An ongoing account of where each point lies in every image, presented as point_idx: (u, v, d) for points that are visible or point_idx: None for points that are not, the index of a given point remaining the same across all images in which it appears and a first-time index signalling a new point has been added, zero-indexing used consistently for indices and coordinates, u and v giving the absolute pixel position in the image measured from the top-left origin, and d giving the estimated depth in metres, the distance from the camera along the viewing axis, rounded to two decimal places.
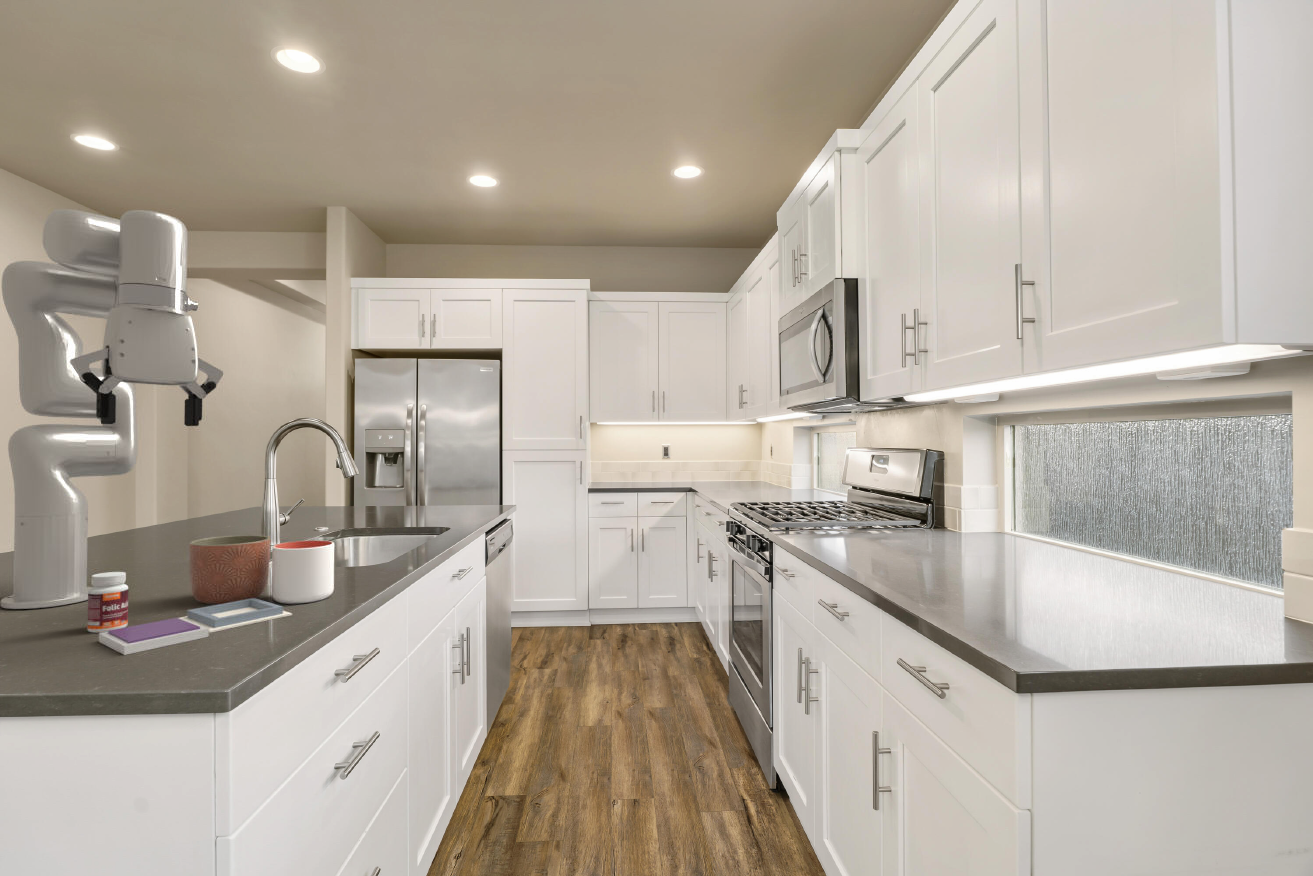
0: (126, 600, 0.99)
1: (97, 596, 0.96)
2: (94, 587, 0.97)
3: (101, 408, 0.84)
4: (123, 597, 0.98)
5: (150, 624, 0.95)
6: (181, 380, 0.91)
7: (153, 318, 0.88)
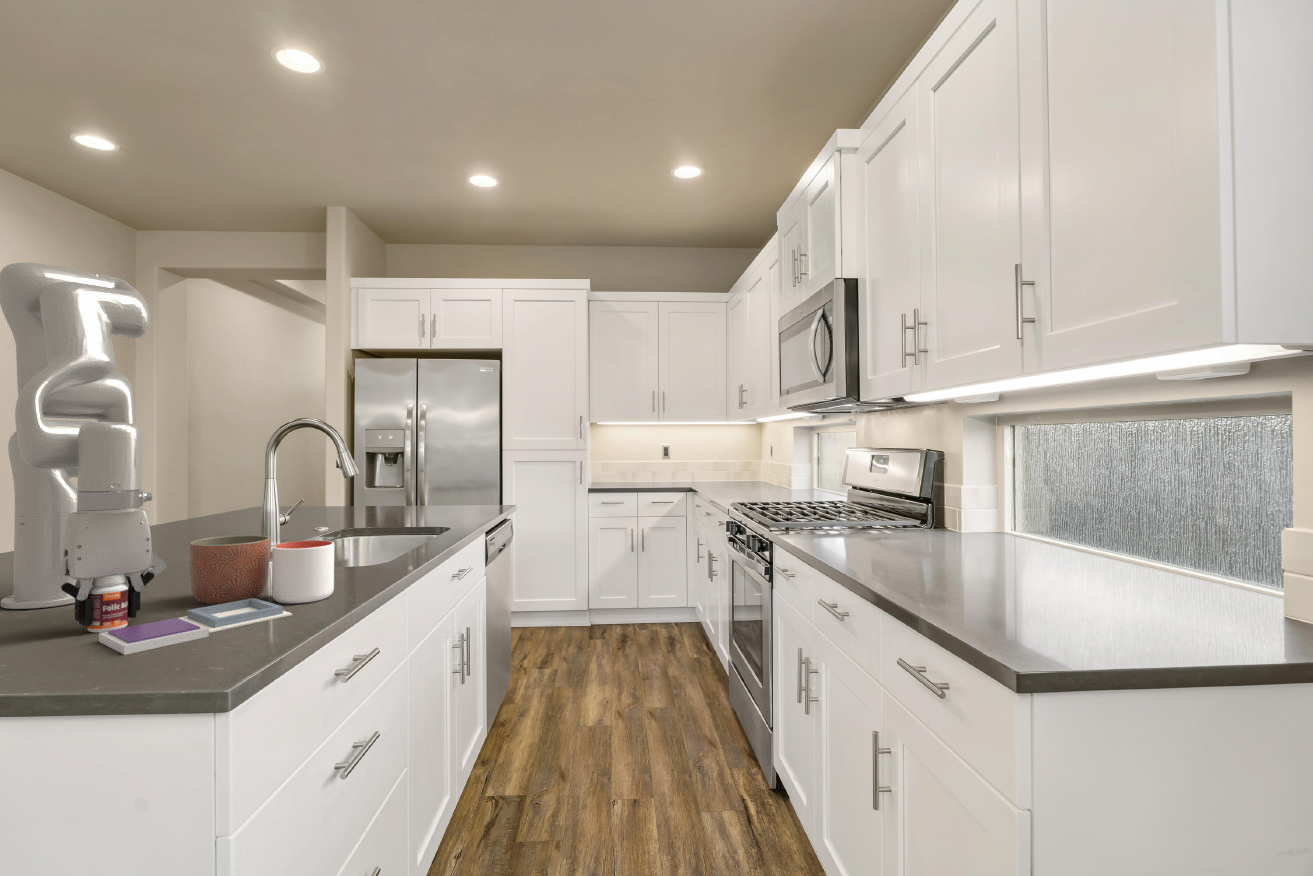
0: (126, 600, 0.99)
1: (97, 596, 0.96)
2: (94, 587, 0.97)
3: (79, 613, 0.95)
4: (123, 597, 0.98)
5: (150, 624, 0.95)
6: (135, 570, 0.99)
7: (109, 520, 0.96)
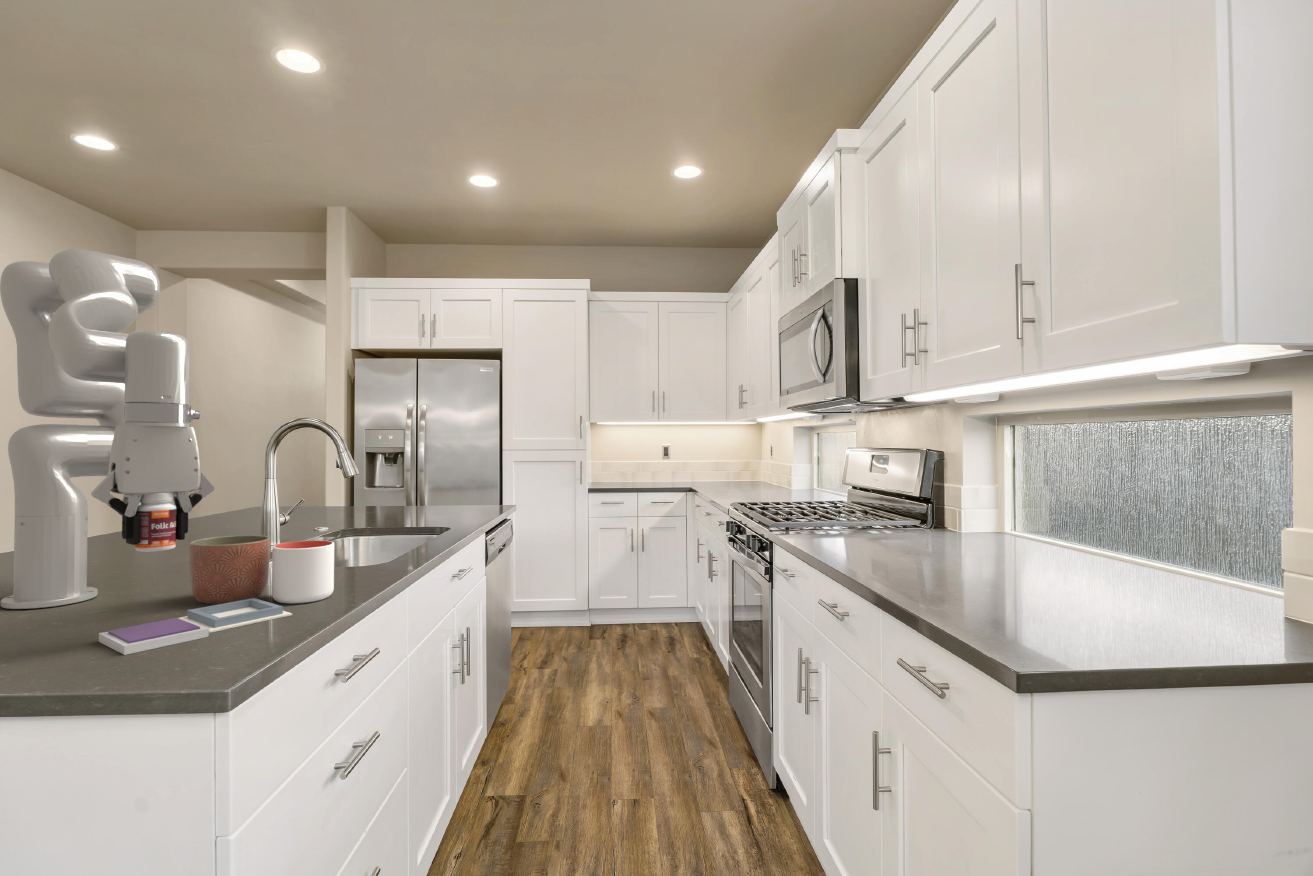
0: (174, 520, 0.94)
1: (145, 513, 0.91)
2: (142, 504, 0.92)
3: (127, 530, 0.90)
4: (171, 516, 0.93)
5: (150, 624, 0.95)
6: (184, 489, 0.94)
7: (158, 434, 0.91)
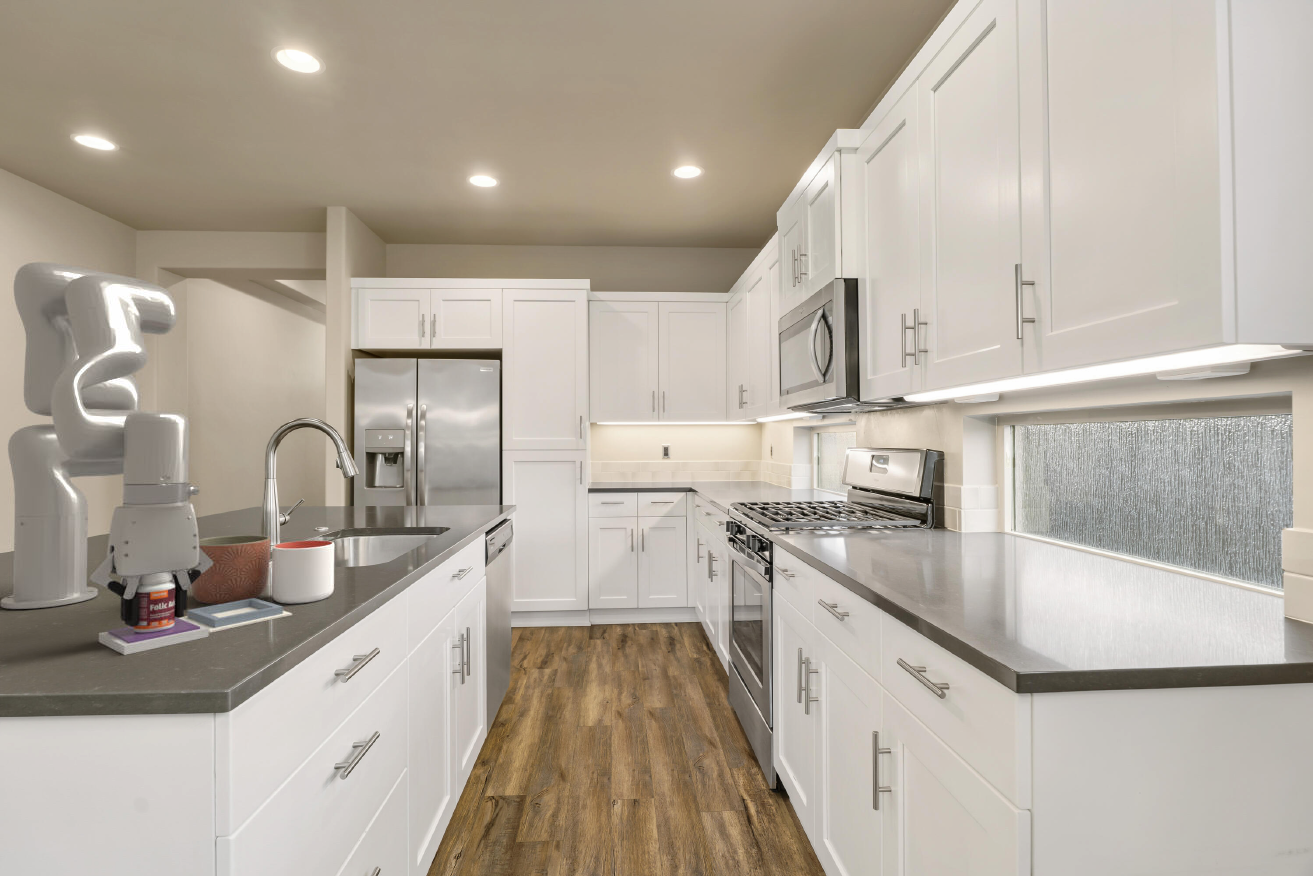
0: (173, 599, 0.94)
1: (144, 594, 0.91)
2: (141, 585, 0.92)
3: (125, 612, 0.90)
4: (170, 595, 0.93)
5: None
6: (182, 567, 0.94)
7: (156, 514, 0.91)
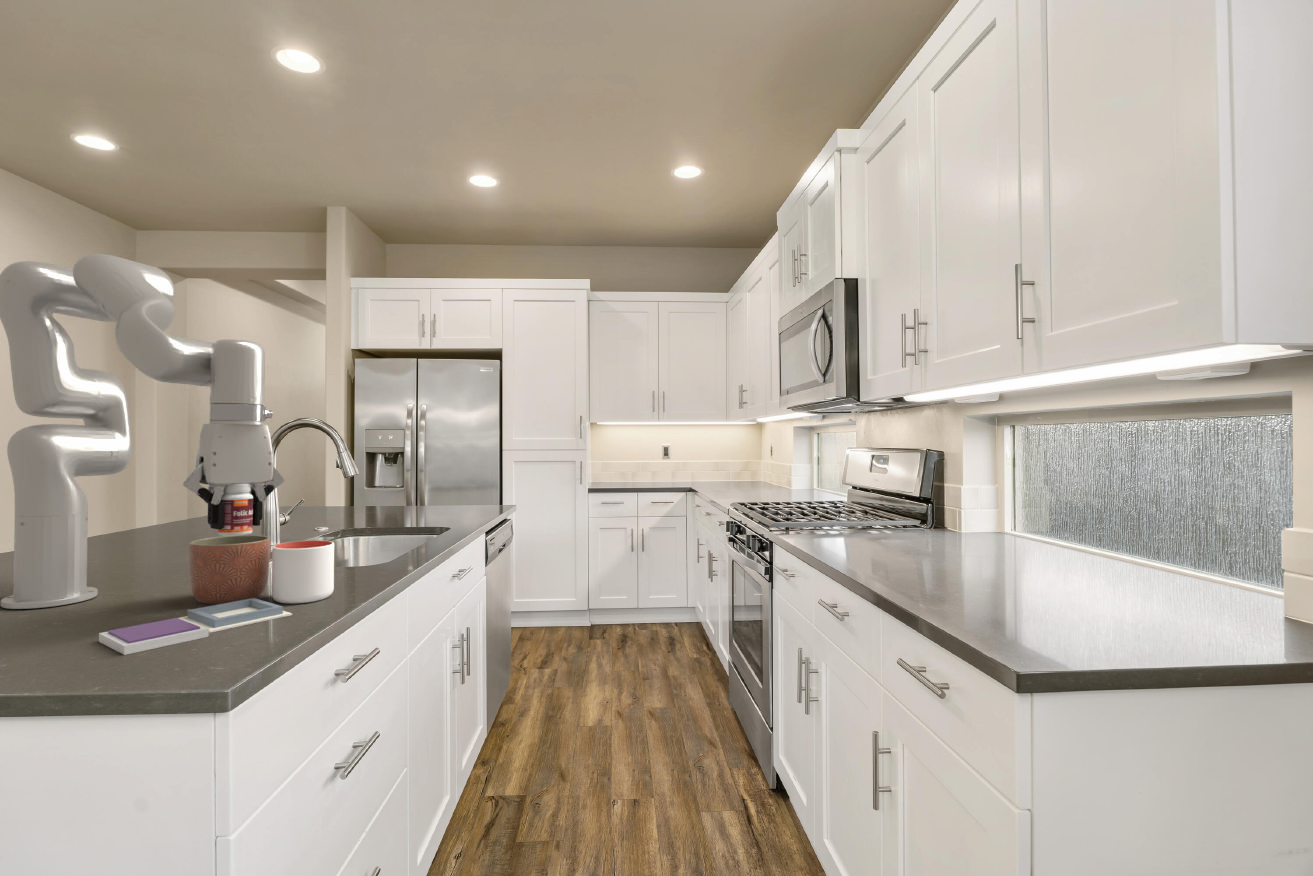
0: (252, 508, 1.05)
1: (228, 501, 1.02)
2: (225, 494, 1.03)
3: (212, 516, 1.01)
4: (250, 505, 1.05)
5: (150, 624, 0.95)
6: (260, 481, 1.06)
7: (239, 431, 1.03)
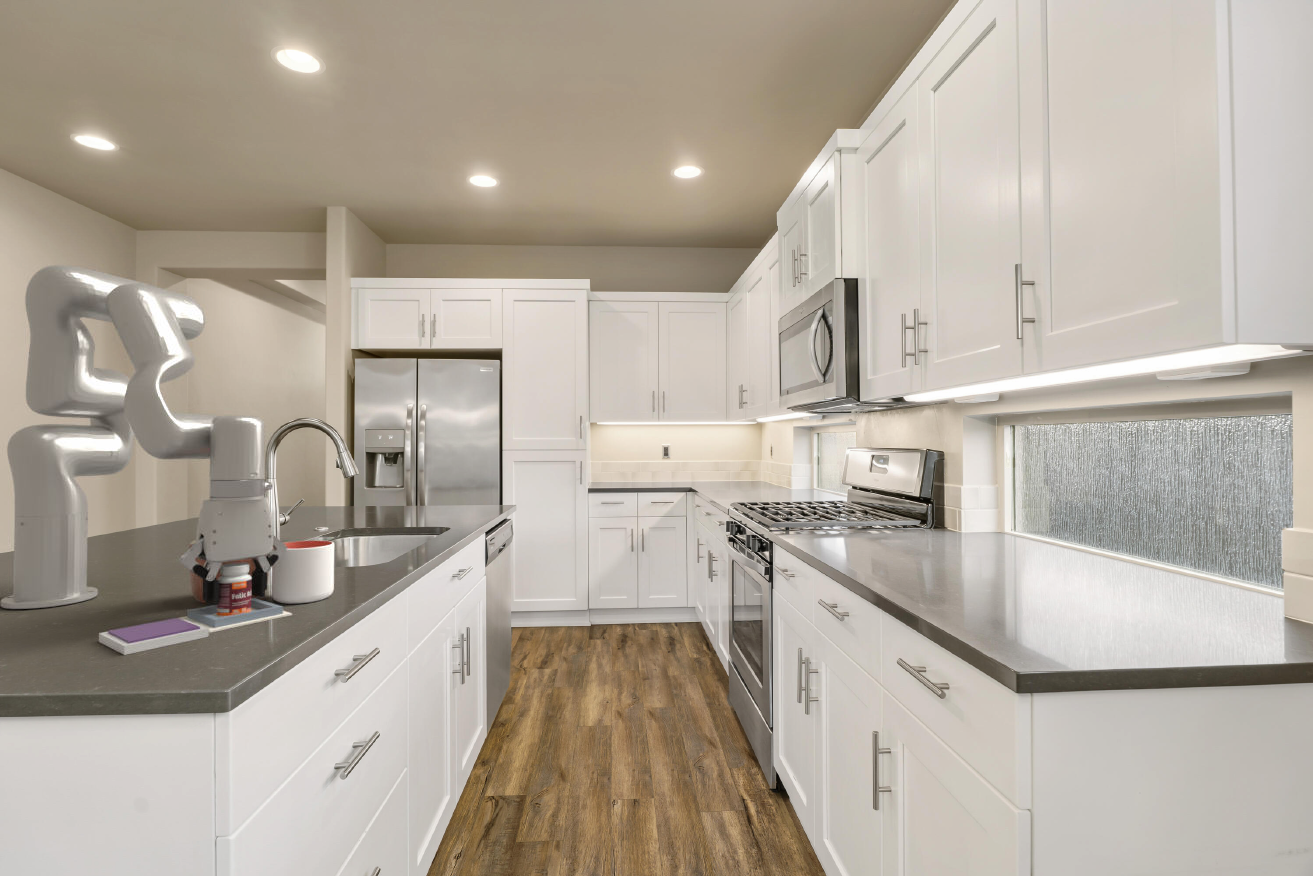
0: (250, 589, 1.05)
1: (227, 584, 1.02)
2: (223, 577, 1.03)
3: (207, 593, 1.01)
4: (248, 586, 1.05)
5: (150, 624, 0.95)
6: (259, 554, 1.06)
7: (239, 507, 1.03)
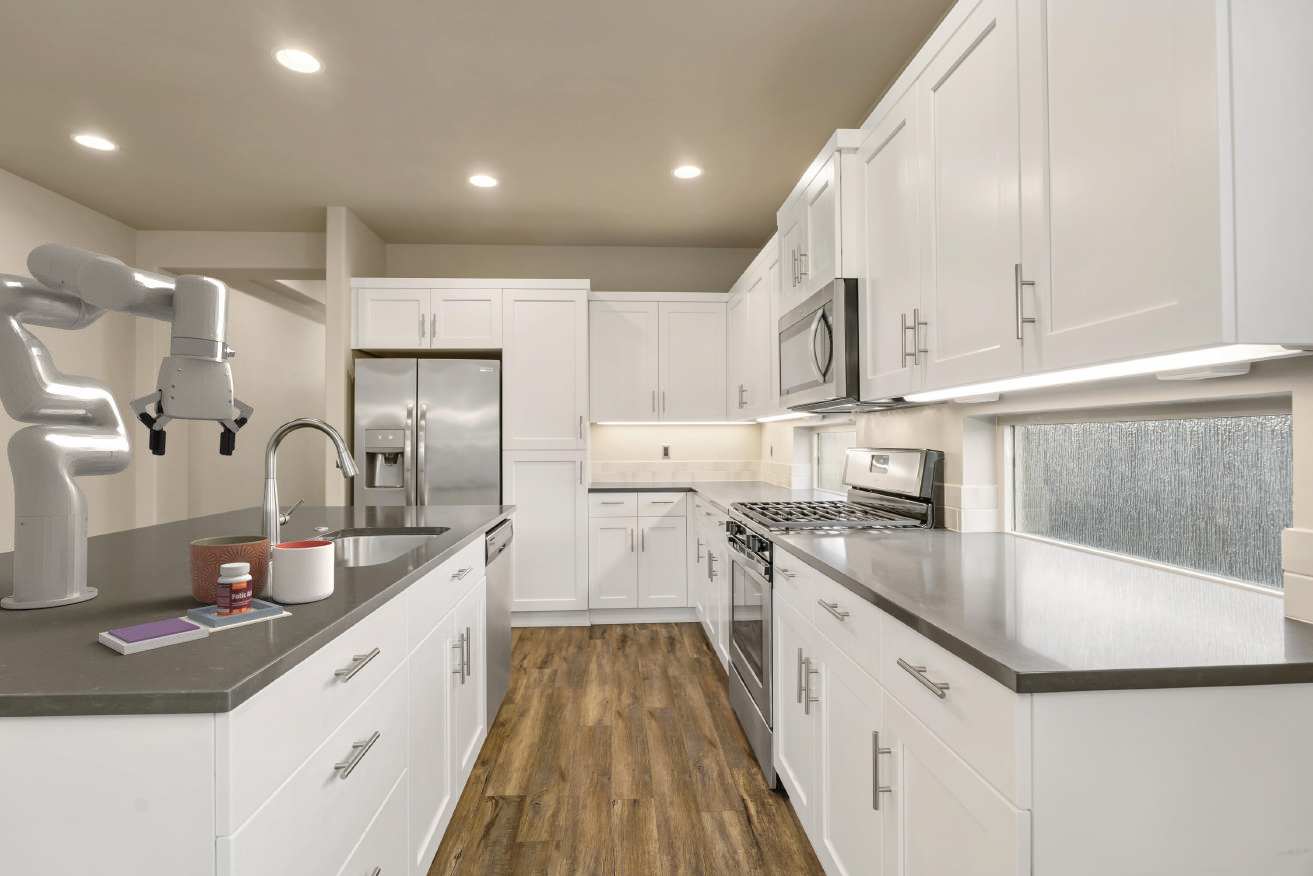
0: (250, 589, 1.05)
1: (227, 584, 1.02)
2: (223, 576, 1.03)
3: (153, 442, 1.01)
4: (248, 586, 1.05)
5: (150, 624, 0.95)
6: (219, 417, 1.07)
7: (199, 366, 1.04)
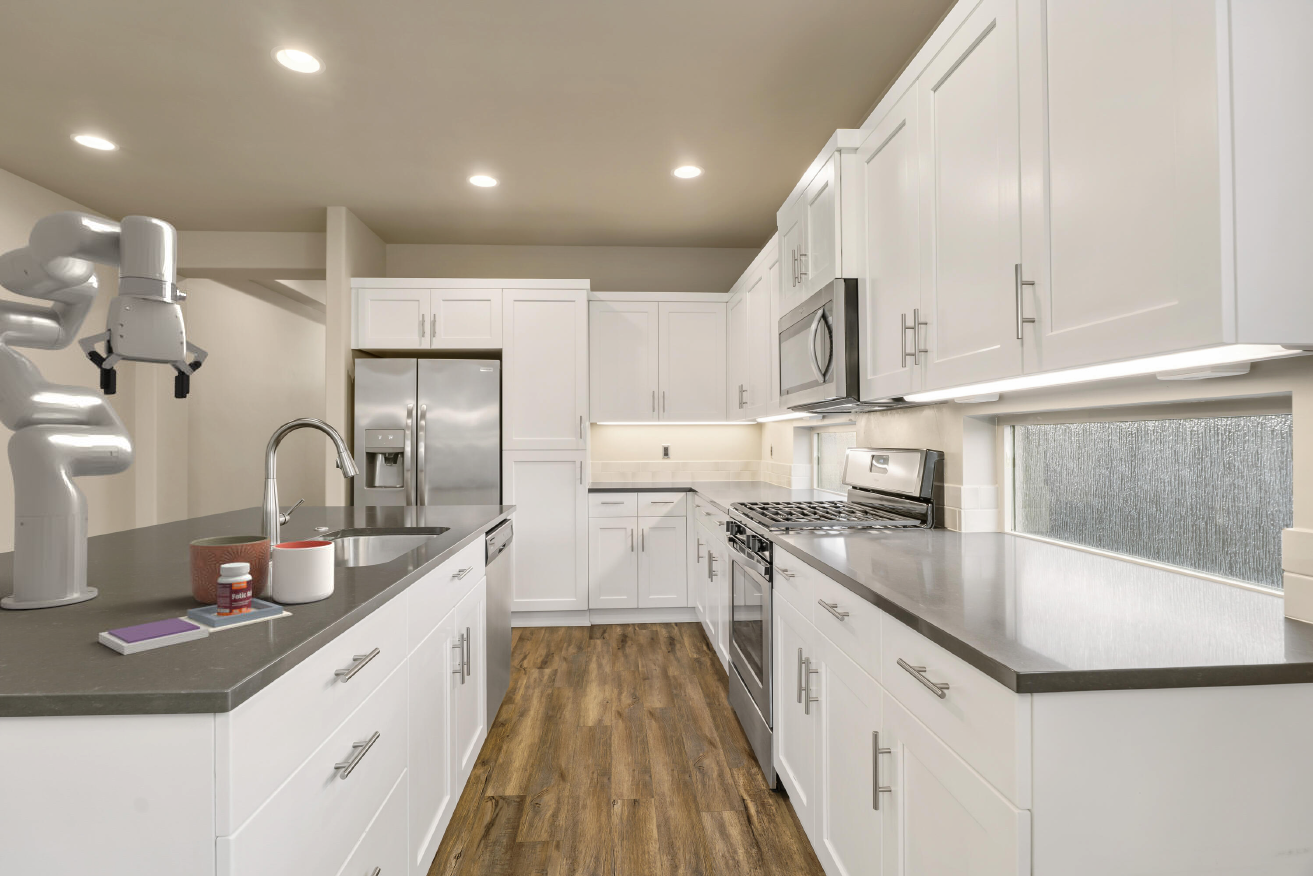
0: (250, 589, 1.05)
1: (227, 584, 1.02)
2: (223, 576, 1.03)
3: (104, 381, 1.01)
4: (248, 586, 1.05)
5: (150, 624, 0.95)
6: (171, 359, 1.07)
7: (148, 306, 1.04)
